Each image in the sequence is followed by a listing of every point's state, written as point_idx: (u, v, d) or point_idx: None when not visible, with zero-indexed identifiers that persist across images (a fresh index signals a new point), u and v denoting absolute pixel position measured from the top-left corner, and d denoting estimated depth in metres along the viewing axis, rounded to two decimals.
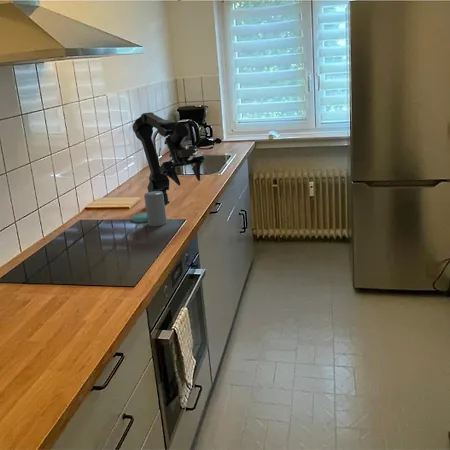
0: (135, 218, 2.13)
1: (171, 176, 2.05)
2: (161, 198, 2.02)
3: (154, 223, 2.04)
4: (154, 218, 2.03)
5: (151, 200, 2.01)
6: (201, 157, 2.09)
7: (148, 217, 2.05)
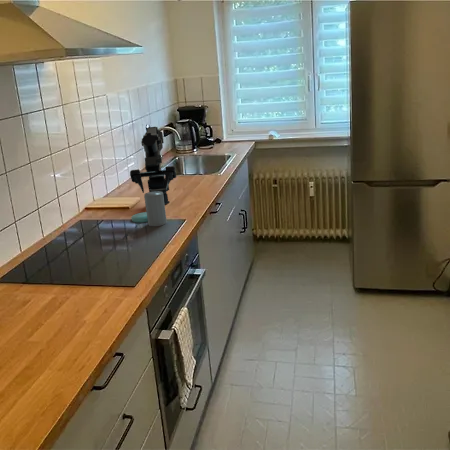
0: (135, 218, 2.13)
1: (139, 184, 2.12)
2: (161, 198, 2.02)
3: (154, 223, 2.04)
4: (154, 218, 2.03)
5: (151, 200, 2.01)
6: (171, 168, 2.11)
7: (148, 217, 2.05)
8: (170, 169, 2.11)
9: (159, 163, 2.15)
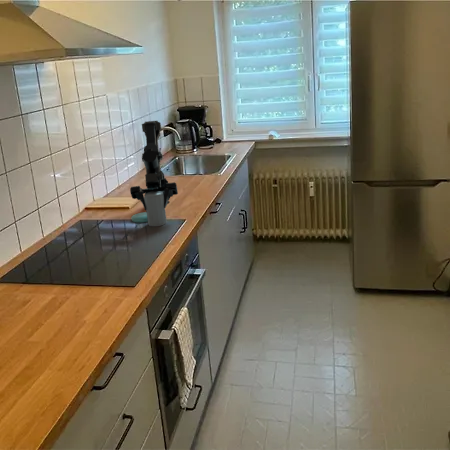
0: (135, 218, 2.13)
1: (141, 201, 2.07)
2: (161, 198, 2.02)
3: (154, 223, 2.04)
4: (154, 218, 2.03)
5: (151, 200, 2.01)
6: (172, 184, 2.06)
7: (148, 217, 2.05)
8: (171, 186, 2.05)
9: (160, 179, 2.10)
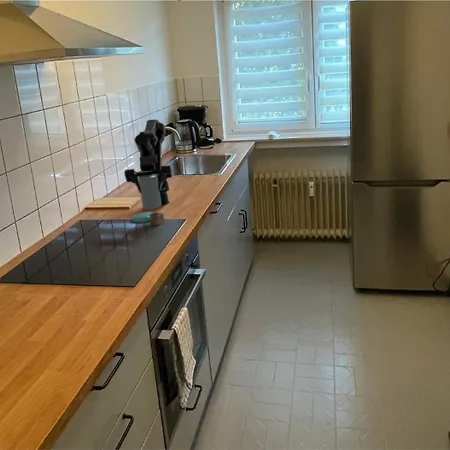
0: (135, 218, 2.13)
1: (136, 184, 2.08)
2: (155, 181, 2.03)
3: (149, 206, 2.04)
4: (149, 201, 2.04)
5: (145, 183, 2.01)
6: (166, 167, 2.06)
7: (143, 200, 2.05)
8: (166, 169, 2.06)
9: (154, 162, 2.11)
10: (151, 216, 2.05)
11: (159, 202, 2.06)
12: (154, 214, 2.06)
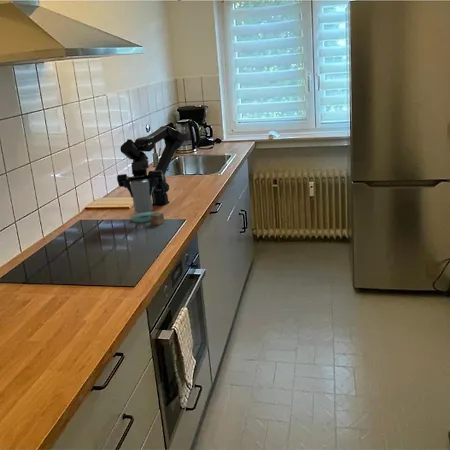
0: (135, 218, 2.13)
1: (128, 188, 2.14)
2: (147, 185, 2.09)
3: (140, 210, 2.11)
4: (140, 205, 2.10)
5: (137, 187, 2.08)
6: (158, 172, 2.13)
7: (134, 204, 2.12)
8: (157, 174, 2.12)
9: (146, 167, 2.17)
10: (151, 216, 2.05)
11: (150, 206, 2.13)
12: (154, 214, 2.06)
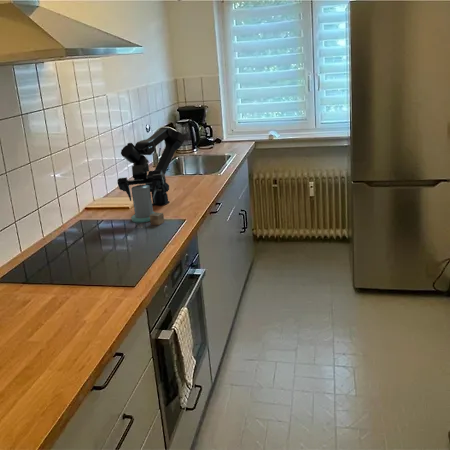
0: (135, 218, 2.13)
1: (127, 192, 2.15)
2: (147, 191, 2.10)
3: (141, 215, 2.12)
4: (141, 210, 2.11)
5: (138, 193, 2.09)
6: (158, 176, 2.13)
7: (135, 210, 2.12)
8: (157, 177, 2.13)
9: None
10: (151, 216, 2.05)
11: (151, 212, 2.13)
12: (154, 214, 2.06)
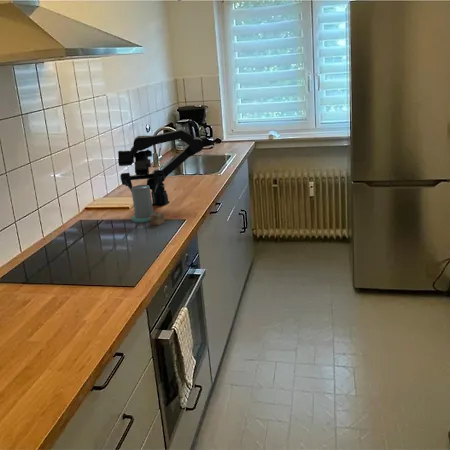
0: (135, 218, 2.13)
1: (129, 187, 2.23)
2: (147, 191, 2.10)
3: (141, 215, 2.12)
4: (141, 210, 2.11)
5: (138, 193, 2.09)
6: (159, 171, 2.22)
7: (135, 210, 2.12)
8: (159, 173, 2.22)
9: (148, 167, 2.26)
10: (151, 216, 2.05)
11: (151, 212, 2.13)
12: (154, 214, 2.06)
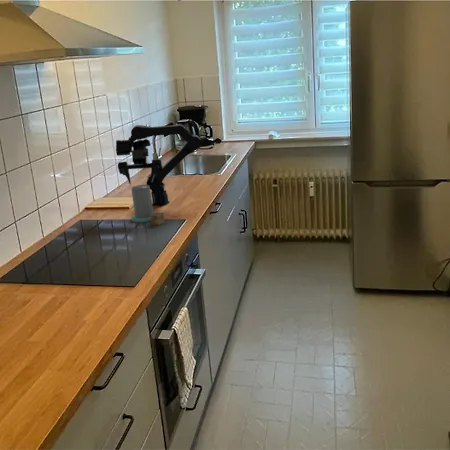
0: (135, 218, 2.13)
1: (126, 176, 2.22)
2: (147, 191, 2.10)
3: (141, 215, 2.12)
4: (141, 210, 2.11)
5: (138, 193, 2.09)
6: (157, 161, 2.21)
7: (135, 210, 2.12)
8: (156, 162, 2.20)
9: None
10: (151, 216, 2.05)
11: (151, 212, 2.13)
12: (154, 214, 2.06)
